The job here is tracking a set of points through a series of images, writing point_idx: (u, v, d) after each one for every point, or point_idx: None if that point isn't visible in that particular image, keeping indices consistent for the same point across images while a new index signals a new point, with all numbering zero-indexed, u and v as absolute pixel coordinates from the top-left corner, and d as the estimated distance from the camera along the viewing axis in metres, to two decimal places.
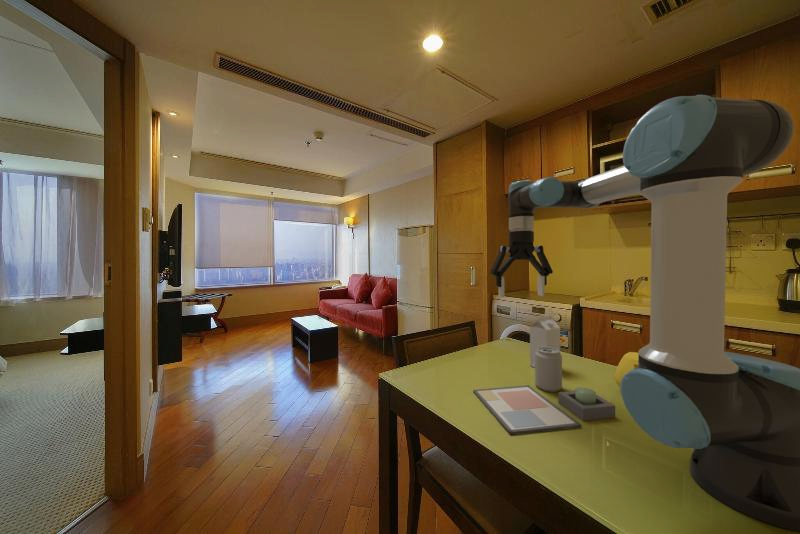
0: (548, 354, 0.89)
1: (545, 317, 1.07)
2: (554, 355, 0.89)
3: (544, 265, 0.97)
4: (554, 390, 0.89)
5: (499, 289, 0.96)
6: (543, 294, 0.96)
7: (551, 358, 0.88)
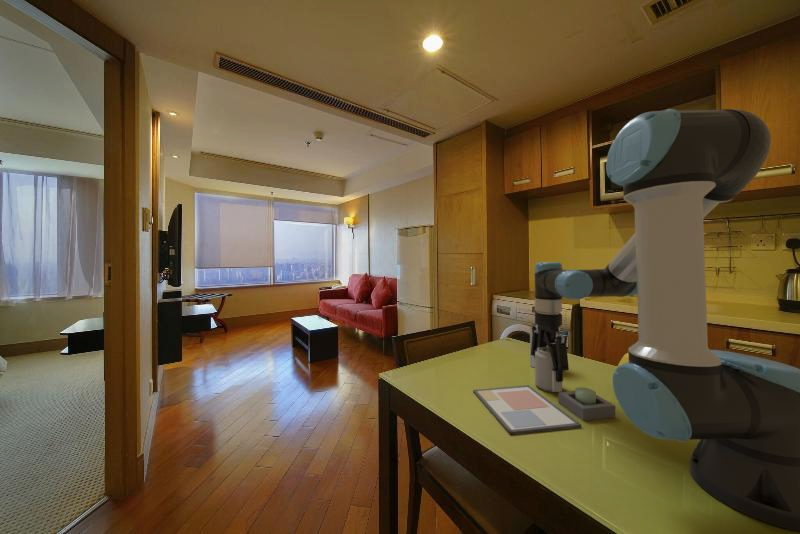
0: (548, 354, 0.89)
1: None
2: None
3: None
4: None
5: None
6: (552, 389, 0.88)
7: (551, 358, 0.88)
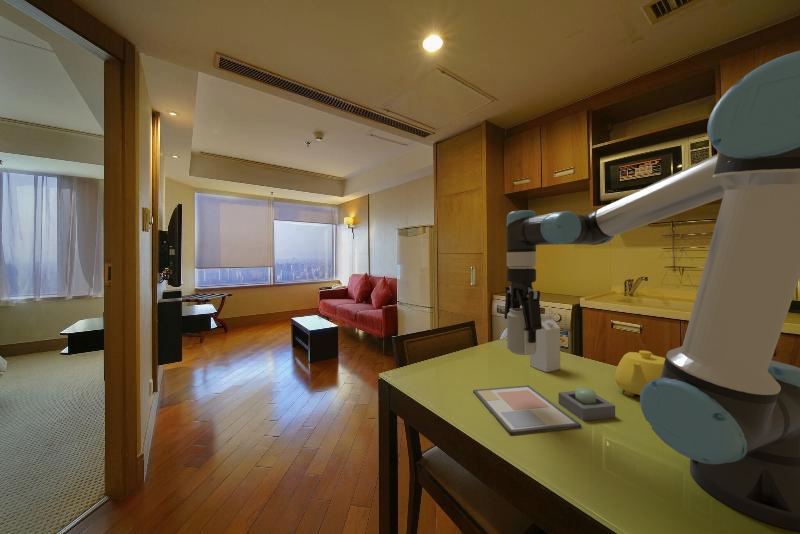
0: (520, 313, 0.80)
1: (545, 317, 1.07)
2: None
3: None
4: None
5: None
6: (525, 352, 0.78)
7: (523, 317, 0.79)
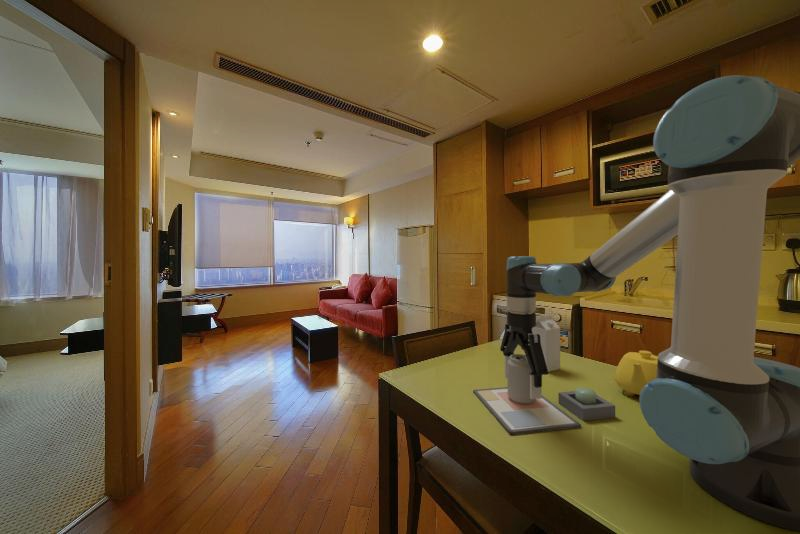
0: (521, 363, 0.80)
1: (545, 317, 1.07)
2: (528, 364, 0.80)
3: None
4: (527, 403, 0.80)
5: None
6: (530, 396, 0.76)
7: (524, 367, 0.79)
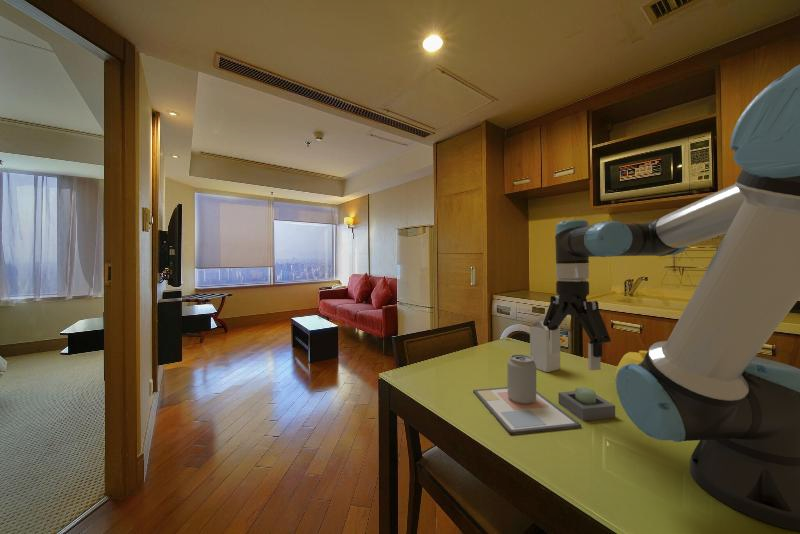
0: (520, 363, 0.80)
1: None
2: (527, 363, 0.80)
3: None
4: (527, 403, 0.80)
5: None
6: (589, 367, 0.71)
7: (523, 367, 0.79)
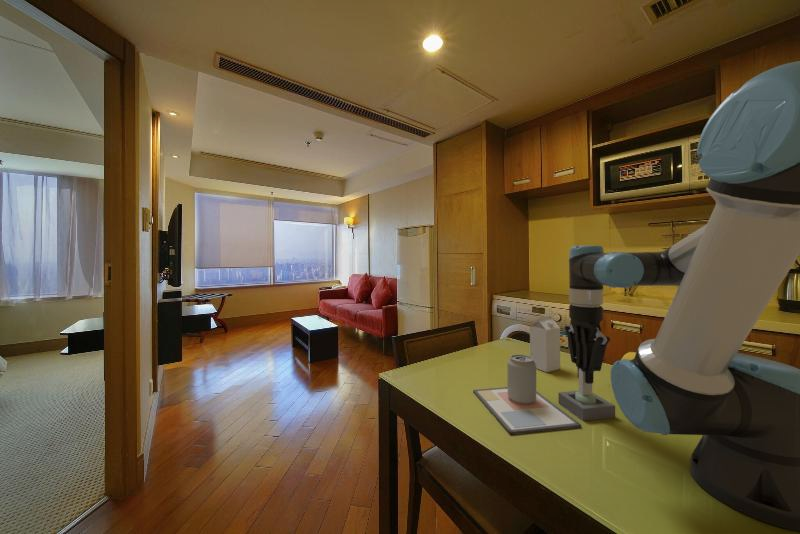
0: (520, 363, 0.80)
1: (545, 317, 1.07)
2: (527, 364, 0.80)
3: None
4: (527, 403, 0.80)
5: None
6: (581, 392, 0.78)
7: (523, 367, 0.79)
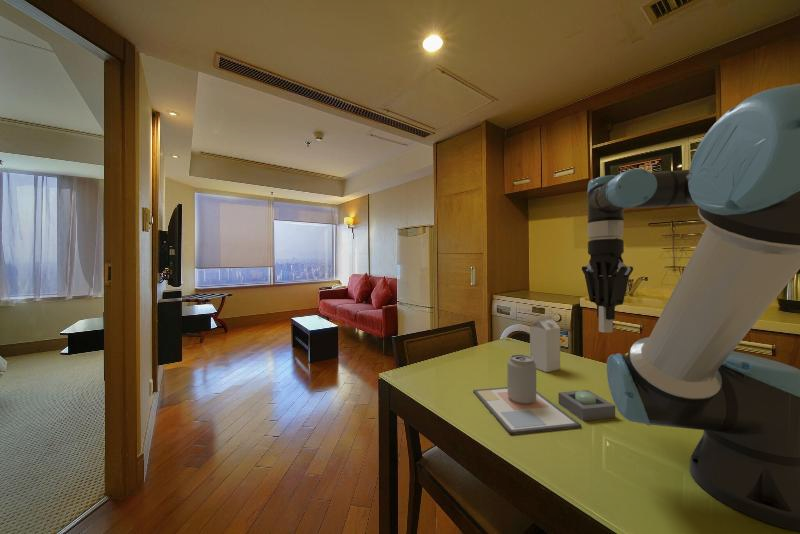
0: (520, 363, 0.80)
1: (545, 317, 1.07)
2: (527, 364, 0.80)
3: None
4: (527, 403, 0.80)
5: None
6: (602, 330, 0.75)
7: (523, 367, 0.79)
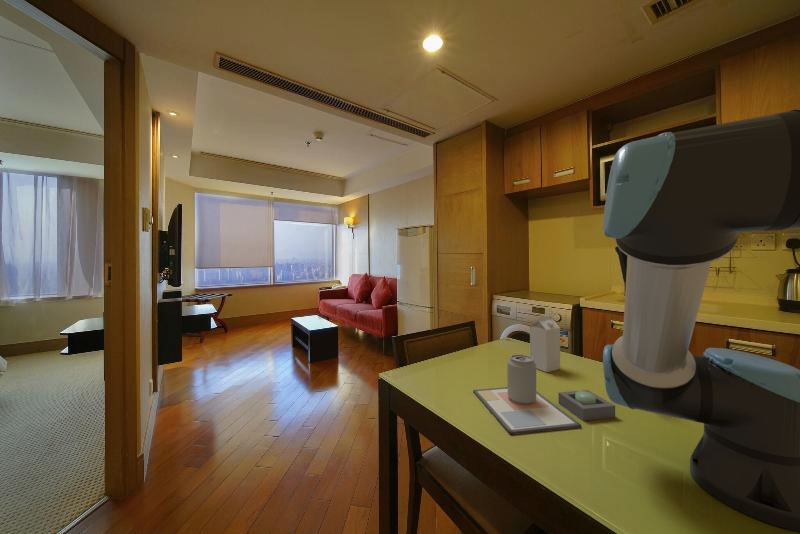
0: (520, 363, 0.80)
1: (545, 317, 1.07)
2: (527, 364, 0.80)
3: None
4: (527, 403, 0.80)
5: None
6: None
7: (523, 367, 0.79)
